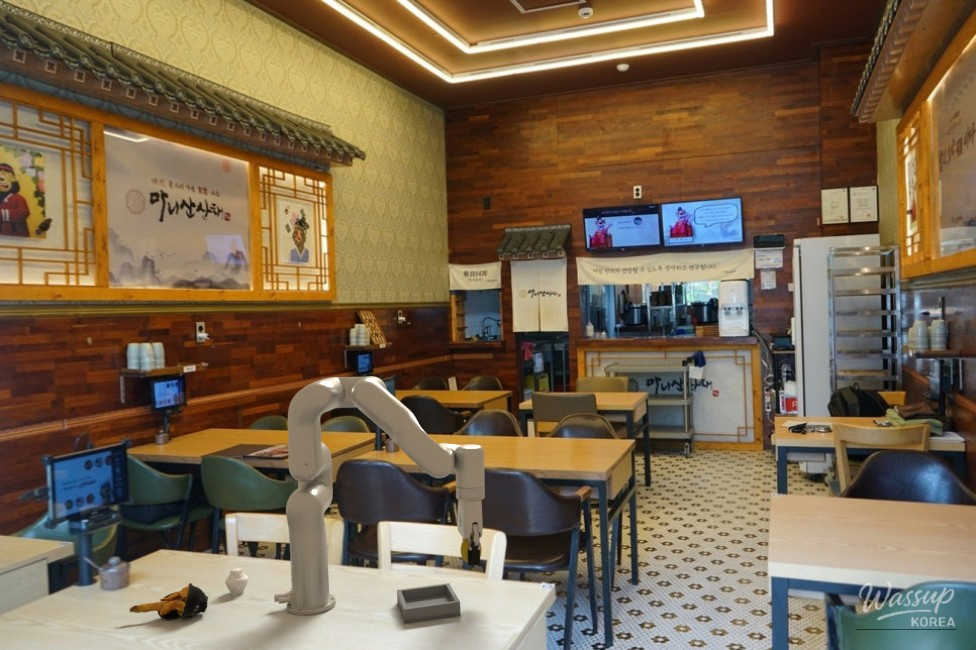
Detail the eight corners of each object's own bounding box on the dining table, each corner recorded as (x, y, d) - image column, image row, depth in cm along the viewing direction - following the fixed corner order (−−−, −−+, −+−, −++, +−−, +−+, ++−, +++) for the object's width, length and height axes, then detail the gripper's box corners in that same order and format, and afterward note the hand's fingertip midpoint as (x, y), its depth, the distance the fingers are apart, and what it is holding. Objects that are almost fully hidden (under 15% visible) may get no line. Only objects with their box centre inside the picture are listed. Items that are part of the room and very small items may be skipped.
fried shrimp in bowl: (210, 603, 187) (135, 592, 181) (198, 636, 190) (124, 627, 184) (214, 578, 195) (142, 567, 189) (202, 611, 198) (131, 601, 192)
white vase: (252, 591, 207) (251, 567, 207) (232, 598, 202) (231, 573, 202) (241, 587, 211) (240, 562, 211) (221, 593, 206) (220, 568, 206)
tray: (404, 623, 180) (404, 609, 180) (397, 603, 194) (396, 589, 194) (460, 615, 183) (460, 601, 183) (449, 596, 197) (449, 583, 197)
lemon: (479, 569, 190) (479, 538, 190) (458, 568, 191) (458, 537, 191) (483, 562, 196) (483, 532, 196) (463, 561, 197) (463, 531, 197)
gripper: (450, 486, 201) (450, 552, 201) (463, 500, 184) (464, 573, 184) (476, 484, 203) (477, 550, 203) (492, 498, 186) (493, 570, 186)
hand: (471, 560), depth 194 cm, fingers closed on lemon, 5 cm apart
